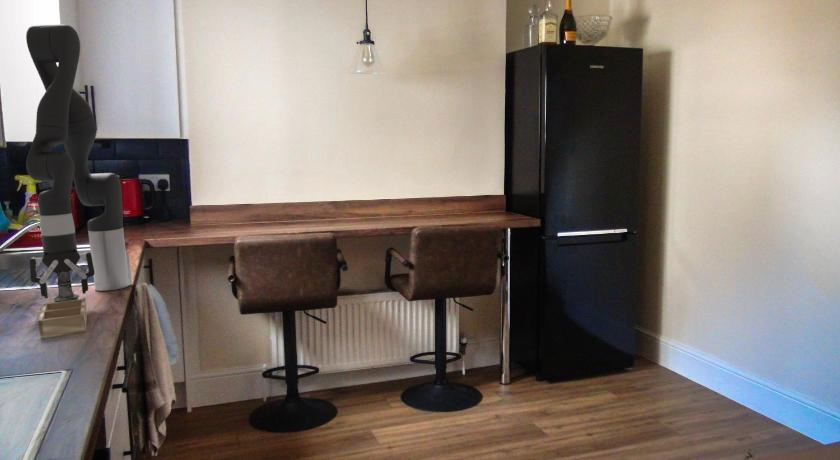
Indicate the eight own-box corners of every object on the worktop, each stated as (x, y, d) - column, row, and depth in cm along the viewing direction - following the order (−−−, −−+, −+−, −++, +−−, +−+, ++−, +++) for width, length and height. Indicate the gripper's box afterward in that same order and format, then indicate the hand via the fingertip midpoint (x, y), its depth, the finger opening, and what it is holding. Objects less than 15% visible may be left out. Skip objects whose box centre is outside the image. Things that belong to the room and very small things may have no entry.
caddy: (46, 319, 166) (44, 303, 166) (86, 314, 170) (85, 298, 170) (40, 338, 151) (38, 321, 150) (85, 331, 155) (83, 314, 154)
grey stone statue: (85, 309, 175) (80, 263, 173) (63, 315, 170) (57, 268, 168) (71, 307, 178) (66, 262, 176) (50, 312, 173) (44, 266, 171)
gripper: (24, 236, 164) (32, 302, 167) (89, 231, 170) (96, 294, 173) (27, 233, 171) (34, 296, 173) (89, 227, 177) (96, 289, 179)
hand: (65, 295), depth 173 cm, fingers open, 8 cm apart
